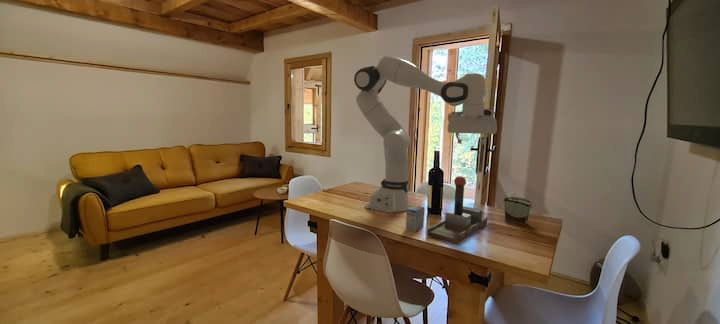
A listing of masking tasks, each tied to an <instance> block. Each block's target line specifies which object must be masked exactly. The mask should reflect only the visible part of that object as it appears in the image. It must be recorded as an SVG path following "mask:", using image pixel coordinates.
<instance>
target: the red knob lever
mask: <svg viewBox="0 0 720 324" xmlns="http://www.w3.org/2000/svg"><path fill="white" fill-rule="evenodd" d="M453 182H454V185H455V190H454V191H455V192H454V208H453V209H454V210H450V209H449V210H448V211H445V213H444V214H445V216H444V220H445V224H446V225H450V226H454V227H458V228H462V229H468V228H469V227H470V226H471V215H469V214H465V213H463V206H464V195H465V194H464V193H465V186H466V185H467V184H466V183H467V181H466V178H465V177H464V176H459V175H458V176H456V177H455V179H454V181H453Z"/></svg>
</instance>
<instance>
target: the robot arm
mask: <svg viewBox="0 0 720 324" xmlns="http://www.w3.org/2000/svg"><path fill="white" fill-rule="evenodd" d="M378 61H379V62H378V63H377V65H376V66H374V65H370V66H365V67H362V68H360V69H358V70H357V72H356V73H355V74H354V78H353V82H354V84H355V86H356V88H357V89H359V90H360V92H359V93H358V94H357V95H356V98H355V102H356V105H357V107H358V109H360V110H359V111H360V112H361V113H362V115H363V117H365V119H366V120H367V122H368V123H369V125H370V126H371V127H372V129H374V131H375V132H377V133H378V134H379V135H380V136H381V137H382V138H383V148H384V149H383V151H384V152H383V153H384V161H385V162H384V163H385V177H384V178H383V179H382V180H381V181H380V185H381V187H379V188H378V189H376V190H374V191H373V192H372V193H371V194H370V196H369V201H367V202H366V203H365V205H364V208H365V207H366V209H369V208H370V209H369V210H374V209H375V211H379V210H380V212H385V213H391V214H392V213H398V212H400V213H401V212H407V209H408V208H410V207H411V206H410V203H409V196H408V192H409V180H408V178H409V177H408V176H409V175H408V174H409V173H408V172H409V163H408V148H409V147H410V145H411V137H410V135H409V133H408V132H407V131H406V129H405V128H404V127H403V126H402V125H401V123H399V122H398V120H397V119H396V117H394V116H393V115H392V113H391V112H390V110H389V109H388V108H387V107H386V105H385V104H384V103H383V101H382V100H381V98H380V97H379V95H378V94H380V93H381V91H382V89H383V88H384V87H385V85H386V83H387V81H388V82H391V83H394V84H396V85H398V86H401V87H407V88H413V89H420V90H424V91H427V92H430V93H432V94H434V95H436V96H438V97H441V99H442V101H444V102H445V103H446V104H448V105H450V106H453V107H457V106H460V105H462V108H461V110H462V111H451V112H449V113H448V115H447V121H448V124H447V132H448V133H451V134H452V133H453V134H454V133H455V137H456V139H457V144H462V138H461V139H460V137H459V136H460V134H480V135H481V134H482V135H483V137H484V138H483V139H480V145H485V141H486V139H488V136H489V135H495V134H497V132H498V123H497V122H498V121H497V119H496V117H495V115H496V111H494V110H491V109H489V108H485V96H486V78H485V77H484V75H482V74H480V73H477V72H467V73H466V74H464V75H463V76H462V77H461V76H460V77H459V78H457V79H455V80H451V81H448V82H444V81H440V80H439V79H436V78H433V77H431V76H429V75H428V74H427V73H425V72H424V71H423V70H422V69H421V68H419V67H418V66H416V65H415V64H414V63H412V62H409V61H408V60H405V59H402V58H399V57H397V56H390V55H385V56H383V57H381V58H380V60H378Z"/></svg>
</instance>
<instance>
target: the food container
mask: <svg viewBox="0 0 720 324" xmlns="http://www.w3.org/2000/svg"><path fill="white" fill-rule="evenodd" d="M502 202H504V220H507V221H511V222H513V223H515V224H516V223H517V224H520V225H523V226H527V225H528V220H529V216H530V213H531V212H530V211H531V208H533V203H532V201H531V200H529V199H527V198H523V197H517V196H505V197H504V198H503V201H502Z"/></svg>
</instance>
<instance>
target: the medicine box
mask: <svg viewBox="0 0 720 324" xmlns="http://www.w3.org/2000/svg"><path fill="white" fill-rule="evenodd" d="M409 207H410V208H408V209H407V211H406V215H405V216H406V218H405V220H406V221H405V230H407V231H411V232H417V231H418V230H420V229H422V228H423V227H424V224H425V223H424V221H425V206H421V205H417V204H415V205H412V206H409Z"/></svg>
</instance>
